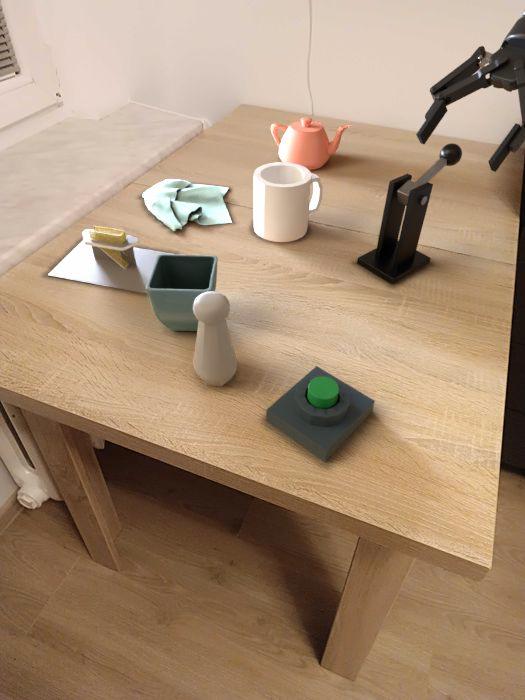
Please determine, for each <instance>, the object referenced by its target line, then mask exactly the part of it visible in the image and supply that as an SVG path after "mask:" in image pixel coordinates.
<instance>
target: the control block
mask: <svg viewBox="0 0 525 700" xmlns="http://www.w3.org/2000/svg"><path fill="white" fill-rule="evenodd" d="M316 377H328V378H331V379H333V380H334V381H335V382H336V383H337V384H338V386H339V393H338V399H337V402H336V404H335V405H334V406H332V407H330V408H325V409H322V408H317V407H315V406H313V405H312V404H311V403H310V402H309V400H308V397H307V394H308V385H309V383H310V381H311V380H313V379H314V378H316ZM375 401H376V400H375V399H373V398H371V397H369V396H367V395H366V394H364V393H363V392H361V391H359V390H358V389H356V388H354V387H353V386H351V385H349V384H347V383H346V382H345V381H342V380H341V379H339V378H338V377H336V376H334V375H333V374H331V373H329V372H328V371H326V370H324V369H323V368H321V367H320V366H318V365H316V366H314V367H313V368H312V369H311V370H310V371H309V372H308V373H307V374H305V375H304V376H303V377H302V378H301V379H300V380H299V381H297V382H296V383H295V384H294V385H293V386H292V387H290V389H288V390H287V391H286V392H285V393H284V394H283V395H282V396H280V397H279V398H278V399H277V400H276V401H275V402H273V403H272V404H271V405H270V406H269V407H268V408H267V409H266V412H265V413H266V414H265V415H266V416H265V417H266V418H265V419H266V420H265V421H266V422H267V423H269V424H270V425H271V426H273V427H274V428H275V429H277V430H278V431H280V432H281V433H283V434H284V435H286V436H287V437H289V438H290V439H291V440H293V441H294V442H296V443H297V444H298V445H300V446H301V447H302V448H303V449H306V450H307V451H308V452H309V453H311V454H313V456H315V457H316V458H318V459H319V460H321V461H322V462H324V463H326V462H327V461H328V460H329V459H330V458H331V456H332V455H334V453H335V452H336V451H337V450H338V449H339V448H340V447H341V446H342V445H343V444H344V443H345V442H346V440H348V439H349V438H350V436H352V435H353V433H354V432H355V431H356V430H357V429H358V428H359V427H360V425H362V423H364V421H365V420H366V419H367V418H368V417H369V416H370V415H371V414H372V413H373V409H374V406H375Z"/></svg>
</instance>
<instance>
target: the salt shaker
mask: <svg viewBox="0 0 525 700" xmlns="http://www.w3.org/2000/svg"><path fill="white" fill-rule="evenodd" d="M230 310H231V306H230V301H229V299H228V297H227V296H226V295H225V294H223V293H221V292H219V291H216V290H215V291H209V292H205V293H202V294H200V295H199V296H198V297H197V298H196V299H195V301H194V304H193V311H194V314H195V316H196V318H197V319H198V320H199V322H198V330H197V331H196V339H195V347H194V353H193V360H192V361H193V362H192V367H193V368H194V371H195V373H196V375H197V376H198V377H200V378H201V379H202V381H204V383H205V384H206V385H207V386H212V387H213V386H214V387H223V386H224V385H225V384H227V383H228V382H230V381H231V380H232V379H233V378H234V375H235V373H236V371H237V368H238V363H239V360H238V357H237V354H236V350H235V346H234V344H233V340H232V337H231V334H230V330H229V327H228V322H227V320H226V319H227V318H228V317H229V315H230Z"/></svg>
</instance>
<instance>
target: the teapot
mask: <svg viewBox="0 0 525 700" xmlns="http://www.w3.org/2000/svg"><path fill="white" fill-rule="evenodd" d="M350 127H351V124H345V125H341V126H339V127H338V128H337V131H336V133H335V136H334V139H332V141H330V139H329V136H328V134H327V131H326V130H325V129H326V128H324V126H323V123H321V122H319V121H316V120H313V119H312V117H307V116H305V117H302V118H300V119H299V120H295V121H293V122H291V123H290V124H289V126H286V125H283V124H281V123H276V122H275V123H272V124H271V125H270V131H271V132H270V133H271V135H272V137H273V139H274V141H275V143H276V145H277V146H278V157H279V159H280V160H281V162H288V163H294V164H299V165H301V166H304V167H306V168H307V169H308V170H309V171H313V170H318V169H320V168H321V167H323V166H324V165H325V164H326V163H327V162H328V161H329V159H330V157H331V155H333V154H335V153H336V152H337V150H338V149H339V146H340V143H341V139H342V136H343V133H344V132H345V131H346V130H347V129H348V128H350ZM279 130H282V131H285V132H284V134H283V136H282V138H281V139H280V136H279V132H278V131H279Z"/></svg>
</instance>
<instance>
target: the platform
mask: <svg viewBox="0 0 525 700" xmlns="http://www.w3.org/2000/svg"><path fill="white" fill-rule="evenodd" d="M92 227H93V229H92V228H85V229H84V230H83V231H82V232H81V236H82V240H81V241H80V242H79V243H78V244H77V245H76V246H75V247H74V248H73V249H72V250H71V251H70V252H69V253H68V254H67V255H65V256H64V258H63V259H61V261H60V262H59V263H58V264H57V265H56V266H55V267H54V268H53V269H52V270H51V271H50V272H49V273H48V274H47V276H50V277H56V278H61V279H66V280H71V281H77V282H82V283H88V284H93V285H97V286H98V285H99V286H102V287H103V286H104V287H108V288H114V289H120V290H124V291H125V290H126V291H132V292H136V293H142V294H148V293H147V290H146V286H147V283H148V281H149V278H150V275H151V272H152V270H153V267H154V264H155V261H156V258H157V256H158V255H159V254H174V255H176V253H171V252H164V251H159V250H153V249H148V248H141V247H135V246H137V245H138V243H139V242H140V237H139V236H135V235H130V234H129V235H128V234H126V230H123V229H118V228H112V227H106V226H99V225H93V226H92Z"/></svg>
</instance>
